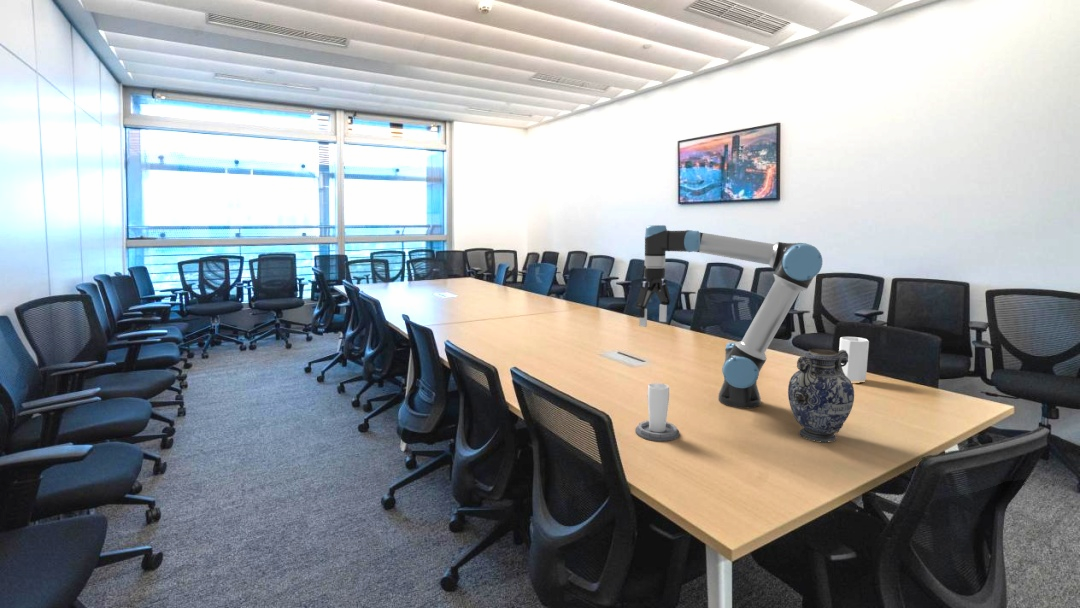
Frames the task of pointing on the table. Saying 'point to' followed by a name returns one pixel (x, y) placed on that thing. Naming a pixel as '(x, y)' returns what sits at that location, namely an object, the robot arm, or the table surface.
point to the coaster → (667, 435)
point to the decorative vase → (821, 394)
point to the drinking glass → (658, 406)
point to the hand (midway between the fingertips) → (653, 324)
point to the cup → (855, 357)
